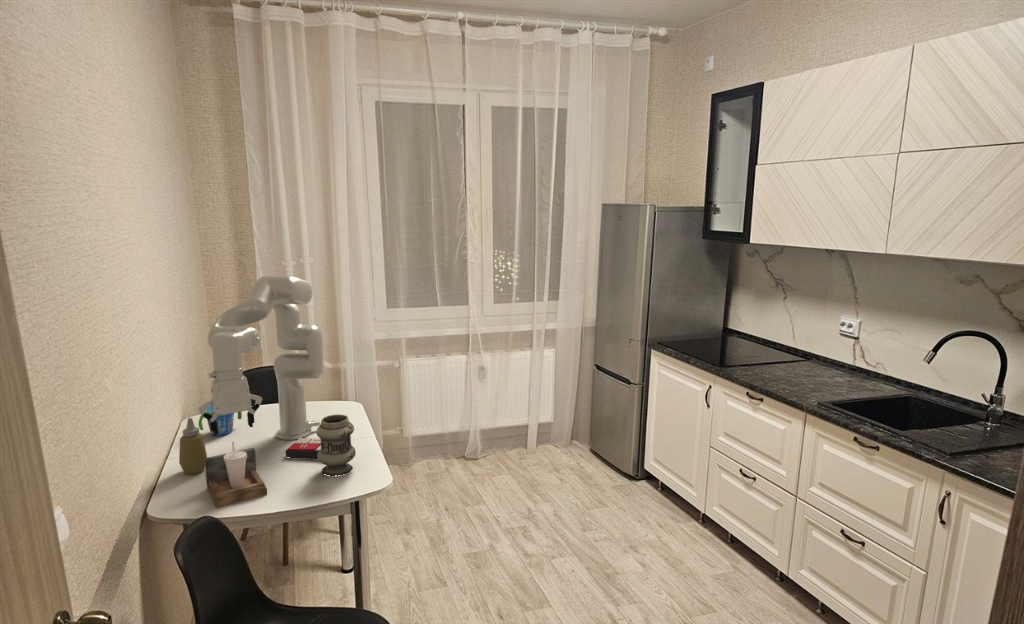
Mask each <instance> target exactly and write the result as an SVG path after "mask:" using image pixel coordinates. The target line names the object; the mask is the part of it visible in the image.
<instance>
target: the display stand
mask: <svg viewBox="0 0 1024 624" xmlns="http://www.w3.org/2000/svg"><path fill="white" fill-rule="evenodd" d="M239 451H244V452H246V453H247V458H246V463H245V477H244V485H243V486H242V487H239V488H232V487H231V486H230V481H229V477H228V472H227V468H226V463H225V461H224V456H225V455H226V454H228V453H229V452H228V453H227V452H226V453H222V454H219V455H218V454H217V455H213V456H209V457H208V456H207V458H205V469H204V471H205V482H206V490H207V492H208V493H209V496H210V499H211V500H212V502H213V505H214V506H215V508H221V507H224V506H228V505H231V504H235V503H236V504H237V503H239V502H243V501H246V500H250V499H254V498H258V497H262V496H266V495H268V488H267V486H266V484H265V482H264V480H263V479H262V477H261V476H260V475H259V474H258V472H257V462H256V461H257V460H256V449H255V448H254V447H250V448H246V449H241V450H239Z"/></svg>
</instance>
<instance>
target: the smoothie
mask: <svg viewBox="0 0 1024 624" xmlns="http://www.w3.org/2000/svg"><path fill="white" fill-rule="evenodd" d="M231 445H232V447H231V448H232V451H230V452H228V454H227V453H225V454H226V455H225V456H224V461H225V463H226V468H227V472H228V477H229V481H230V486H231V487H232V488H239V487H242V486H243V485H244V477H245V463H246V458H247V453H246V452H244V451H240V450H235V441H232V442H231Z"/></svg>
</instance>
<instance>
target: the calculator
mask: <svg viewBox="0 0 1024 624" xmlns="http://www.w3.org/2000/svg"><path fill="white" fill-rule="evenodd" d="M320 450H321V439H320V438H319V437H317V438H316V437H314V438H312V437H309V438H307V437H304V438H300V439H296V441H294V443H292V444H291V445H290V446H289V447H288V448H287V449H286V450H285V458H286V457H290V458H289V459H293V458H310V459H309V460H315V459H318V458H317V455H318V452H319V451H320Z"/></svg>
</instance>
